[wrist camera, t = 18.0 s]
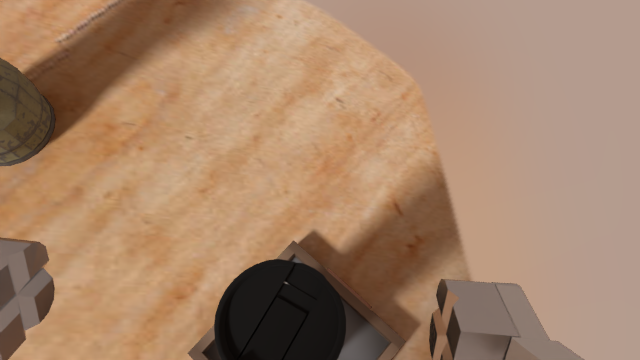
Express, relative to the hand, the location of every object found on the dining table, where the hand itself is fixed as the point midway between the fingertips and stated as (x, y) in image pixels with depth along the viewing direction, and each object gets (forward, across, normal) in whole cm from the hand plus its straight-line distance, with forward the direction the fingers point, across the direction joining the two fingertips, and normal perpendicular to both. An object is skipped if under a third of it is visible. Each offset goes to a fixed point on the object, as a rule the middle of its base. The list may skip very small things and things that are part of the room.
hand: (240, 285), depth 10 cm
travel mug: (+23, 0, +23) cm, 33 cm away
